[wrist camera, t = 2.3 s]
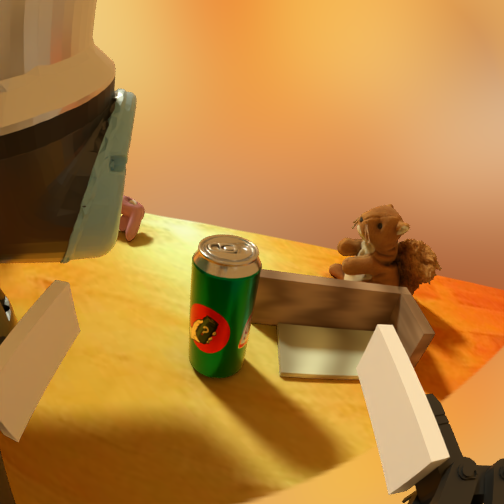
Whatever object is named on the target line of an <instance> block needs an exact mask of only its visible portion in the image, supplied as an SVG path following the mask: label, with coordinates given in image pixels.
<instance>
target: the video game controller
mask: <svg viewBox="0 0 504 504" xmlns="http://www.w3.org/2000/svg"><path fill="white" fill-rule="evenodd" d="M144 213H145V211H144V207H143V206H142V205H141V204H140V203H138V202H137V201H135V200H133V199H132V198H130V197H127V196H123V201H122V209H121V214H123V215H122V216H121V218H120V225H119V230H121V231H126V239H127V241H131V240H132V239H133V238H134V237H135V236H136V234H137V232H138V230H139V227H140V223H141V220H142V219H143V217H144Z"/></svg>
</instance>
